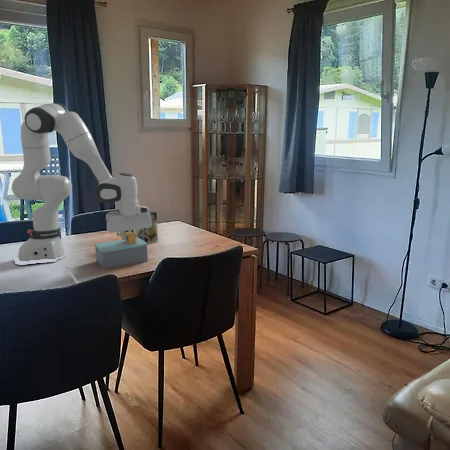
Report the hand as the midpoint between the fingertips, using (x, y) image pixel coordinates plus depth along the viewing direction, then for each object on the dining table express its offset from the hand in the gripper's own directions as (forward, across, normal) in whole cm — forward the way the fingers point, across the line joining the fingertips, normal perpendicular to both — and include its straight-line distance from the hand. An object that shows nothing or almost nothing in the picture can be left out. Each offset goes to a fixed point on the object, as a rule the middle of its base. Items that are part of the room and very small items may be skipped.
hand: (130, 239), depth 201 cm
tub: (+10, -5, 0) cm, 11 cm away
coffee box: (+11, +18, +26) cm, 33 cm away
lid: (+3, -4, 0) cm, 6 cm away
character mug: (+11, +4, +19) cm, 22 cm away
